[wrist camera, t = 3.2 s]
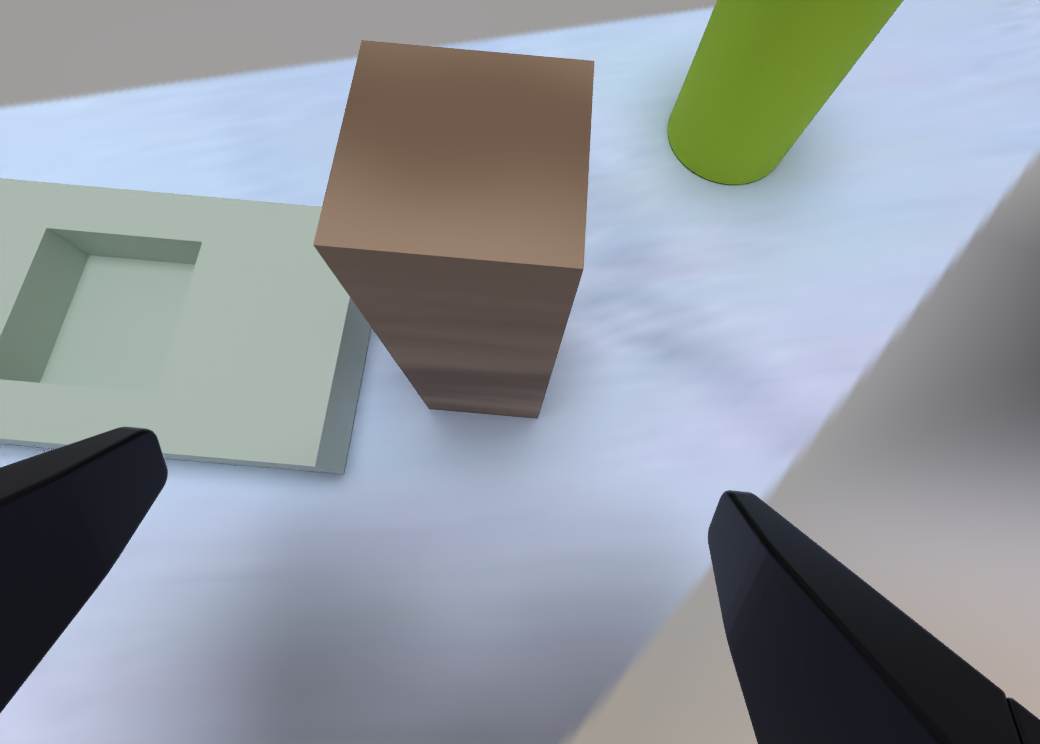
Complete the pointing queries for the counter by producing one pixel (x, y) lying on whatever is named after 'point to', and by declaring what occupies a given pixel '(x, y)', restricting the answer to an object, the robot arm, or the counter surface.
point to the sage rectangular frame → (175, 326)
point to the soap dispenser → (765, 80)
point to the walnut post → (462, 216)
